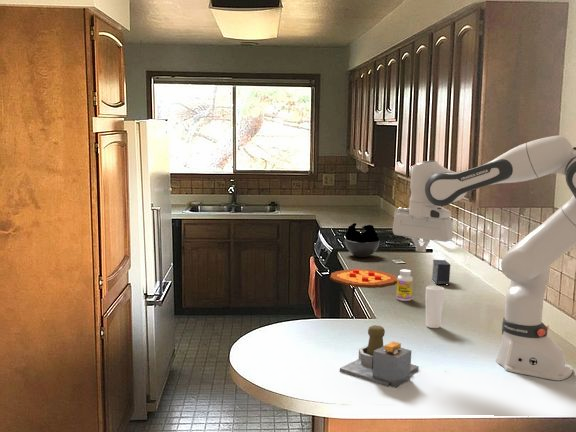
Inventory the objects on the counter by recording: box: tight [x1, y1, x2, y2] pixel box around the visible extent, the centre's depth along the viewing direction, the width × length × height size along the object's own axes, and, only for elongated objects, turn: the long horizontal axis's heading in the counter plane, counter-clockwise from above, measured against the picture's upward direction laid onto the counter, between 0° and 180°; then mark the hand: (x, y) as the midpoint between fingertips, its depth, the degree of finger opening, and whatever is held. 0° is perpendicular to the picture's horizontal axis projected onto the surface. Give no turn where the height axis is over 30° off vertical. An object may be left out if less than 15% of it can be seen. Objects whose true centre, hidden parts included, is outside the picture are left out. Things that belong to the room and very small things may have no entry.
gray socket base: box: [339, 345, 419, 388], centre depth 192 cm, size 20×18×9 cm
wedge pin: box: [384, 340, 402, 354], centre depth 185 cm, size 3×5×9 cm, turn 140°
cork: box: [367, 324, 386, 356], centre depth 198 cm, size 6×6×11 cm
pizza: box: [330, 268, 398, 288], centre depth 309 cm, size 32×32×3 cm
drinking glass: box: [424, 285, 445, 329], centre depth 236 cm, size 7×7×15 cm
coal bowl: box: [344, 222, 381, 258], centre depth 360 cm, size 20×20×19 cm
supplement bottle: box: [395, 268, 414, 302], centre depth 273 cm, size 7×7×13 cm
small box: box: [431, 259, 451, 285], centre depth 304 cm, size 11×6×10 cm, turn 0°
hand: (420, 251), depth 208 cm, fingers closed
